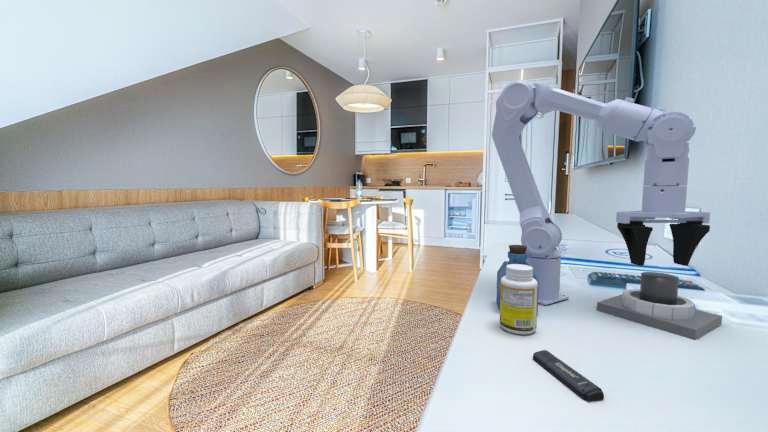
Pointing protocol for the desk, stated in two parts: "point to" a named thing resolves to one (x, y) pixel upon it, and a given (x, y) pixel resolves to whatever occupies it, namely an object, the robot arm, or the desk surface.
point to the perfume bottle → (515, 257)
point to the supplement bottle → (518, 300)
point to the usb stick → (569, 376)
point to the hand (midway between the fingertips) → (658, 264)
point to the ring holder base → (662, 314)
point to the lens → (659, 288)
